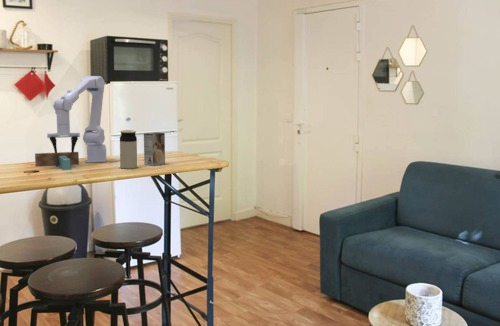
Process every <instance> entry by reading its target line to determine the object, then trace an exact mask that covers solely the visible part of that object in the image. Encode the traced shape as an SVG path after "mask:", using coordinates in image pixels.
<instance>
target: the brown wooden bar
mask: <svg viewBox="0 0 500 326" xmlns="http://www.w3.org/2000/svg"><path fill="white" fill-rule="evenodd" d="M59 156H66V157H68V158H69V159H70V167H71V165H80V162H79V161H80V160H79V159H80V158H79V151H74V152H72V151H65V152H61V151H59V152H57V153H55V152H41V153H39V152H38V153H34V162H35V164H34V165H35V167H49V166H50V167H51V166H53V167H56V168H57V167H58V166H59Z"/></svg>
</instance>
